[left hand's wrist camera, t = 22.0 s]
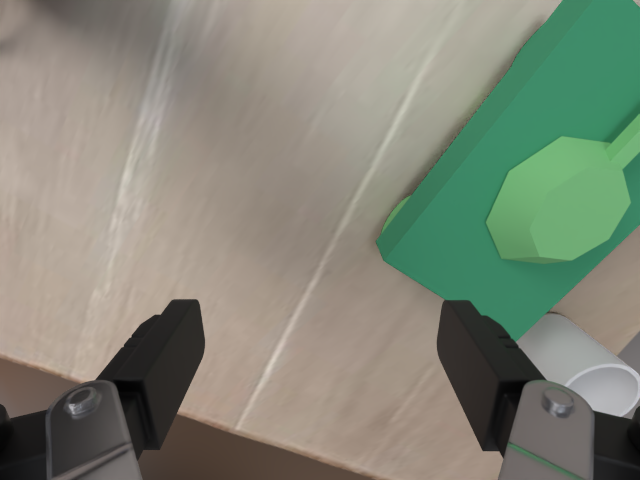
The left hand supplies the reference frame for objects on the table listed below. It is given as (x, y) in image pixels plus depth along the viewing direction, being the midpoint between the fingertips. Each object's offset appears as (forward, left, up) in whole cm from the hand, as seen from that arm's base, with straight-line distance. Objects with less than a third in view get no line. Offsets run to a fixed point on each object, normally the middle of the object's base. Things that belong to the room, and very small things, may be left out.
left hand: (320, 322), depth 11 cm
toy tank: (+18, -15, -30) cm, 38 cm away
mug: (+3, -37, -30) cm, 47 cm away
